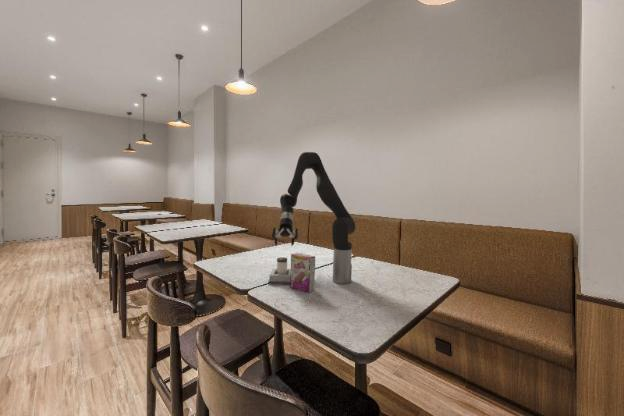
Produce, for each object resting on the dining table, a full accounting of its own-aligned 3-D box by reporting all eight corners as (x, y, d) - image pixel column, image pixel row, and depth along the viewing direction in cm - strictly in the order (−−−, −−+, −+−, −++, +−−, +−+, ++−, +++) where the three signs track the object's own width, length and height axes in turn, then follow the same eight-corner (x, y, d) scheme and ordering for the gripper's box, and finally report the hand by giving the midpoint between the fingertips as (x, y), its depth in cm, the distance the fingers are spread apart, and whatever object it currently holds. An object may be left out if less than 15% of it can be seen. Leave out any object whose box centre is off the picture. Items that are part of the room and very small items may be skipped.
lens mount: (294, 276, 145) (294, 268, 144) (292, 284, 133) (292, 276, 132) (271, 275, 145) (271, 268, 144) (268, 284, 133) (268, 275, 132)
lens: (287, 276, 141) (287, 257, 141) (286, 279, 136) (286, 260, 135) (277, 275, 141) (277, 257, 141) (276, 279, 136) (276, 259, 135)
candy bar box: (289, 287, 129) (290, 254, 127) (295, 284, 133) (296, 252, 132) (309, 293, 123) (310, 258, 121) (314, 289, 127) (315, 255, 126)
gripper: (273, 217, 155) (270, 240, 145) (298, 217, 155) (297, 241, 145) (274, 224, 161) (271, 248, 151) (298, 225, 161) (297, 248, 151)
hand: (284, 244), depth 148 cm, fingers open, 8 cm apart
